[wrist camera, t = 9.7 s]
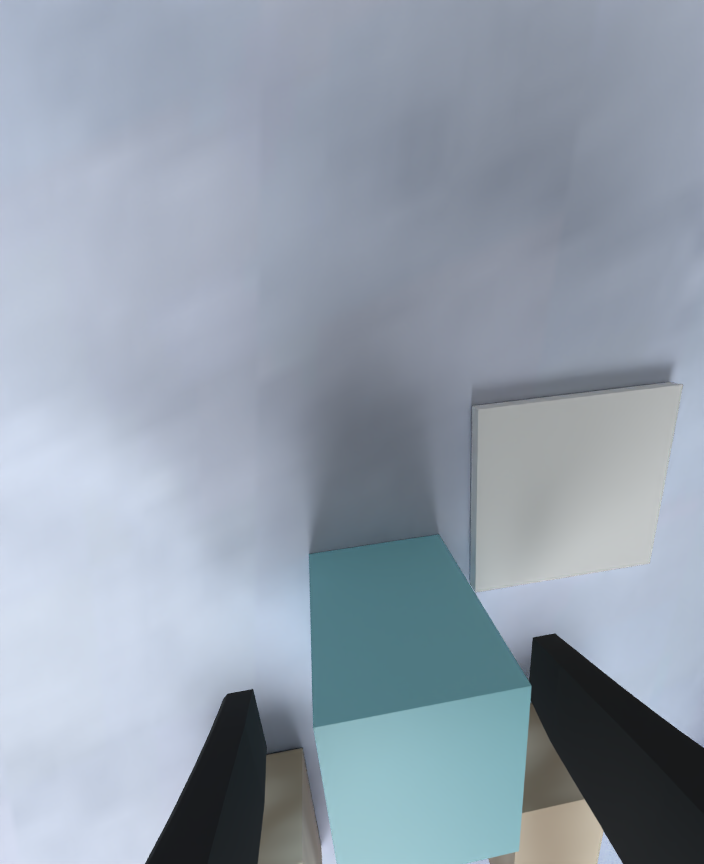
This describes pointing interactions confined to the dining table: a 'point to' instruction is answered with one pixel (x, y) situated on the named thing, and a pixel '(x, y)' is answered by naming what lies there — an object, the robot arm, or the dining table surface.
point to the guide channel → (536, 859)
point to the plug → (414, 708)
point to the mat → (568, 483)
